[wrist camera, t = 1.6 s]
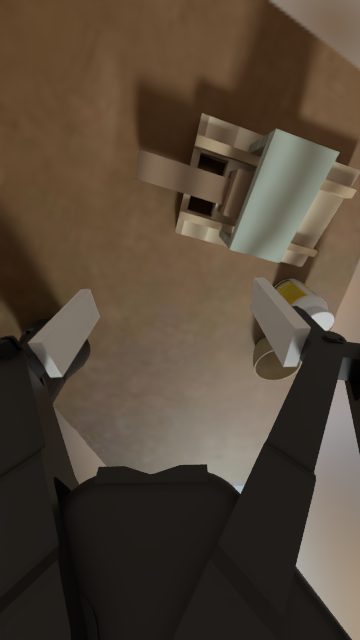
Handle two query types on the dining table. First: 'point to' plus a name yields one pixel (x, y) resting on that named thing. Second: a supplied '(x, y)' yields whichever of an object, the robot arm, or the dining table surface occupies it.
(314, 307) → the pill bottle
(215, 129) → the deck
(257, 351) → the flower pot
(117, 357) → the dining table surface
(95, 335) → the dining table surface
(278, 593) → the robot arm
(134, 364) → the dining table surface
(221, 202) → the tan wooden bar
